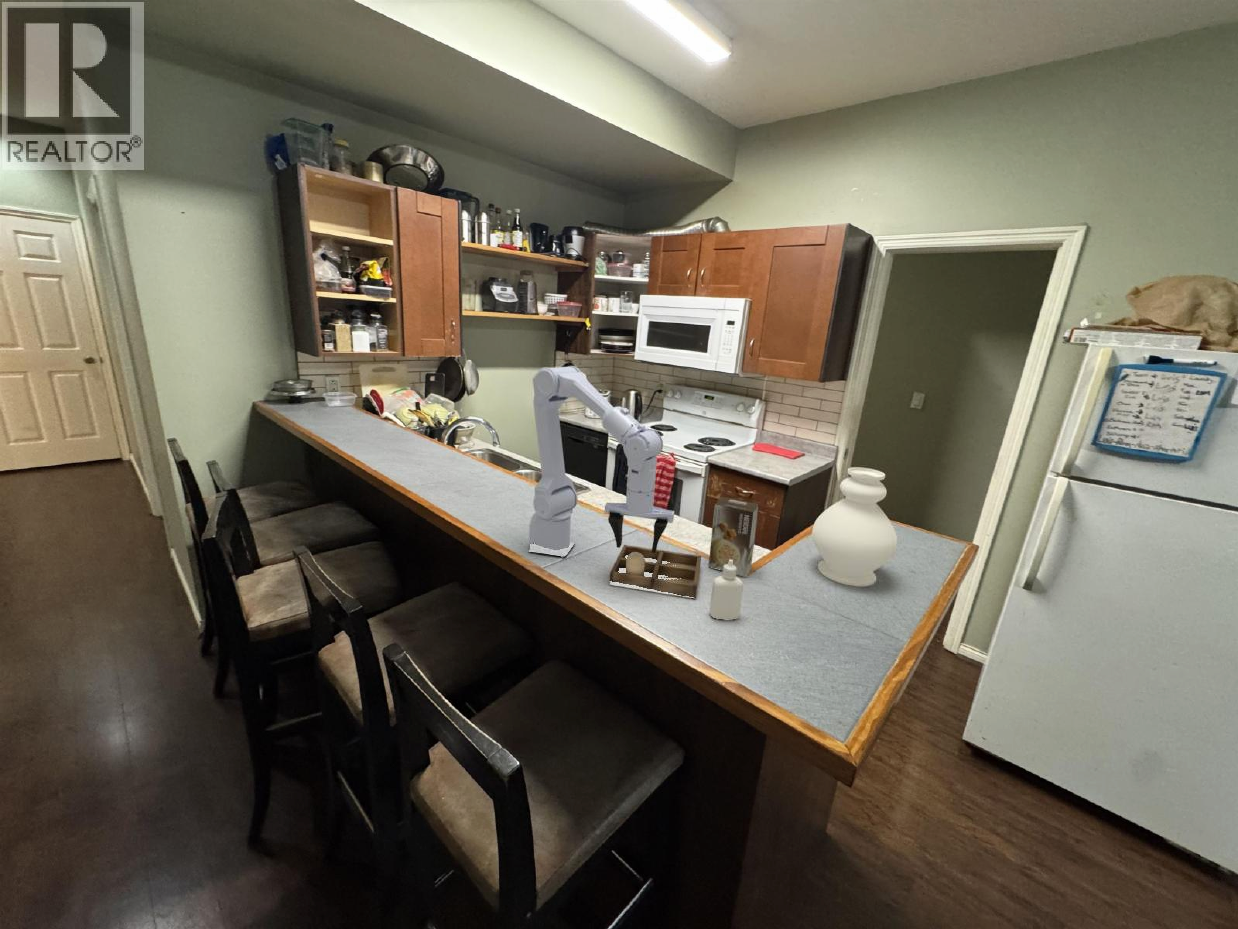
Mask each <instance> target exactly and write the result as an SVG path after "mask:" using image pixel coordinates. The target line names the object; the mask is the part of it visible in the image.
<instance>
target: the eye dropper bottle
mask: <svg viewBox="0 0 1238 929" xmlns="http://www.w3.org/2000/svg"><path fill="white" fill-rule="evenodd" d="M736 569H737V568H736V566H734V565H733V560H729V562H728V564H726V565H724V567H723V571H722V575H719V576H716V577H715V578H714V579H713V582H712V586H711V595H710V603H709V605H710V606H709V614H710V617H711V616H712V617H713V618H712V619H714V618H716V619H715V620H718V619H724V620H723V621H734V620H733V619H735V620H737V619H739V618H740V615H741V614H740V612H741V606H742V599H743V591H744V583H743V581H742V580H741V579H740V578H739V577H737V575H736ZM725 619H726V620H725ZM727 619H728V620H727Z"/></svg>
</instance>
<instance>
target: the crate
mask: <svg viewBox="0 0 1238 929" xmlns="http://www.w3.org/2000/svg"><path fill="white" fill-rule="evenodd" d="M632 552H639V553H641V554H642V555H643V556H644V558H652V559H656V560H657V562H656V563H653V562H646V561H645V567H644V572H649V573H653V574H652V577H645V576H638V575H632V574H626V573H619V572H618V571H619V568H626V560H627V559H626V558H625V556H626V555H629V554H630V553H632ZM662 561H667V562H670V563H667V564H662ZM701 562H702V555H698V554H697V555H696V554H689V553H682V552H675V551H670V550H665V549H664V550H661V549H658V548H657V549H656V552H655V553H652V548H649V547H640V546H634V545H629V544H623V546H622V548H621V550H620V553H619V554H618V556H617V558H616V560H615V562H614V564H613V566H612V568H611V570H610V571H609V581H612V582H619V583H623V584H629V585H636V586H639V587H643V588H647V589H654V590H657V591H661V592H668V593H673V594H677V595H681V596H689V597H694V598H696V599H697V592H698V587H699V586H698V585H699V580H700V571H701ZM673 565H674V566H673ZM675 565H676V566H675ZM658 575H665V576H668V577H666V578H677V579H678V580H677V579H674V580H673V579H671V580H669V579H668V580H667V579H666V580H664V579H658ZM661 578H662V577H661ZM664 578H665V577H664ZM680 578H681V579H680ZM698 579H699V580H698Z"/></svg>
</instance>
